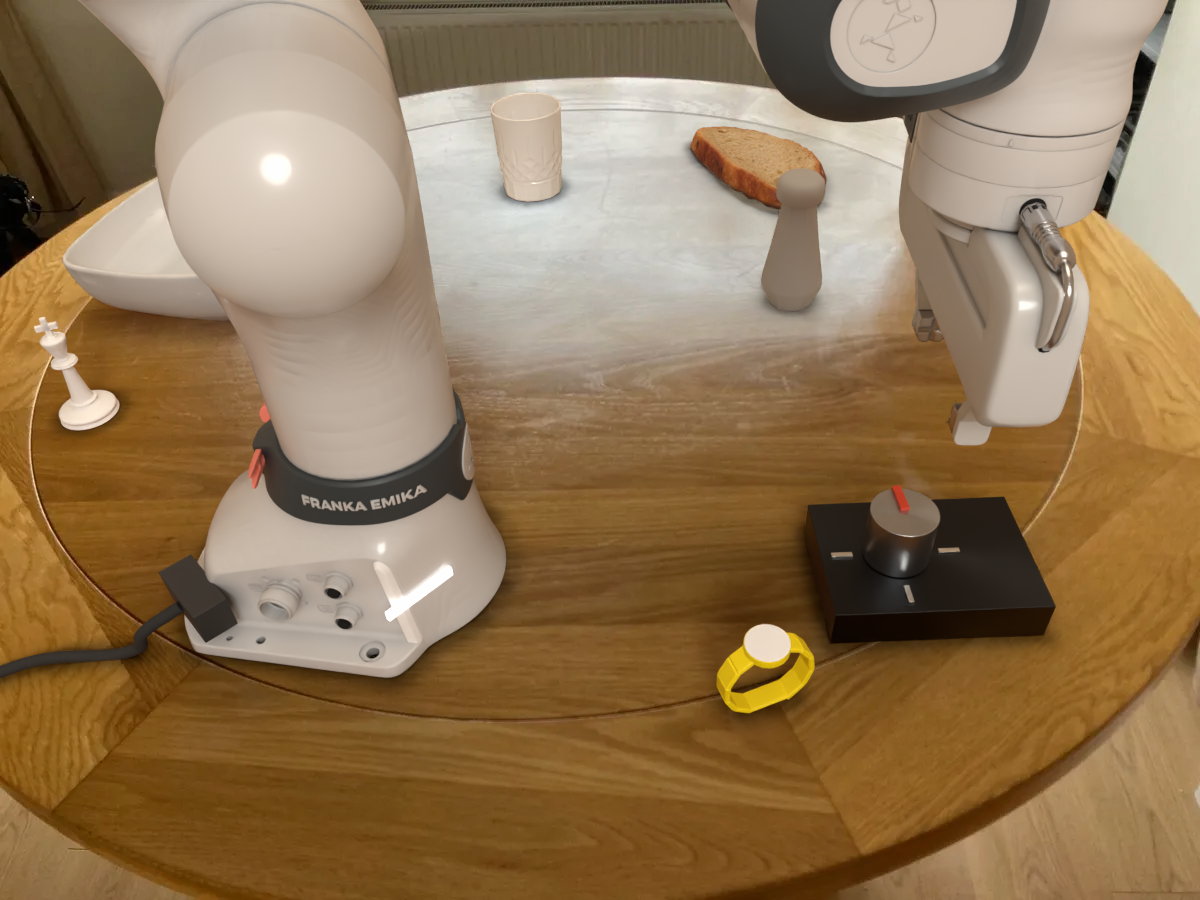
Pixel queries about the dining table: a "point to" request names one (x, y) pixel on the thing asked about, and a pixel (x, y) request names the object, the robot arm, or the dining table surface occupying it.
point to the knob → (900, 532)
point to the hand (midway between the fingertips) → (945, 382)
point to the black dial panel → (929, 577)
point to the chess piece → (76, 385)
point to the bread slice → (751, 160)
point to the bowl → (140, 262)
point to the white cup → (529, 144)
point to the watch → (765, 651)
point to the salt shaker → (795, 242)
